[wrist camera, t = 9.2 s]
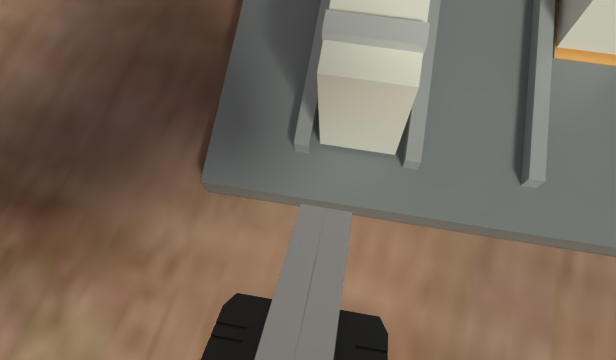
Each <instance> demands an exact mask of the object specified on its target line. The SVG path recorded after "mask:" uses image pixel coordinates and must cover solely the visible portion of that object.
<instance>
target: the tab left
mask: <svg viewBox="0 0 616 360" xmlns="http://www.w3.org/2000/svg"><path fill="white" fill-rule="evenodd" d="M429 5H430V0H331V1H330V6H329V10H328V9H326V12H325V17H324V22H323V28H322V40H323V44H322V49H321V54H320V60H319V65H318V70H317V85H318V108H319V130H320V144H325V145H332V146H339V147H345V148H352V149H359V150H365V151H372V152H379V153H385V154H392V155H395V153H396V150H397V148H398V145H399V142H400V139H401V136H402V134H403V131H404V128H405V125H406V122H407V119H408V117H409V114H410V111H411V108H412V105H413V103H414V100H415V97H416V94H417V91H418V88H419V83H420V75H421V67H422V59H423V53H425V50H426V47H427V43H428V35H429V27H430V23H428V22H427V20H428V12H429Z"/></svg>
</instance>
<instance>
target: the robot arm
mask: <svg viewBox="0 0 616 360" xmlns="http://www.w3.org/2000/svg"><path fill="white" fill-rule="evenodd" d="M351 218H352V212H348V211H341V210H335V209H329V208H323V207H317V206H311V205H305V204H300V208H299V211H298V214H297V218H296V221H295V224H294V228H293V231H292V235H291V238H290V241H289V245H288V248H287V251H286V255H285V258H284V262H283V265H282V268H281V272H280V275H279V279H278V282H277V285H276V289H275V292H274V295H273V299H268V298H262V297H257V296H251V295H245V294H240V293H236V294H235V295H234V296H233V297H232V298H231V299H230V300H229V301H228V302H226V303H225V304H224V305H223V307H222V309H221V312H220V314H219V317H218V319H217V321H216V325H215V326H214V329H213V331H212V334H211V338H209V341H208V343H207V346H206V348H205V351H204V353H203V356H202V358H201V360H388V355H387V352H388V333H387V331H386V329H385V327H384V325H383V323H382V321H381V319H380V317H378V316H372V315H366V314H361V313H355V312H349V311H344V310H340V304H341V296H342V289H343V281H344V273H345V265H346V257H347V250H348V242H349V234H350V226H351Z"/></svg>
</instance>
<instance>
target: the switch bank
mask: <svg viewBox="0 0 616 360" xmlns="http://www.w3.org/2000/svg"><path fill="white" fill-rule="evenodd" d="M330 1H331V0H243V3H242V8H241V12H240V16H239V20H238V24H237V29H236V33H235V37H234V41H233V46H232V50H231V54H230V58H229V62H228V67H227V71H226V75H225V79H224V84H223V88H222V92H221V96H220V100H219V105H218V109H217V113H216V117H215V122H214V126H213V130H212V134H211V138H210V143H209V147H208V151H207V155H206V159H205V164H204V168H203V172H202V176H201V181H200V182H201V183H202V185H203V186H204V187H205V188H206V190H207V191H208V192H214V193H220V194H226V195H232V196H239V197H245V198H251V199H257V200H264V201H270V202H276V203H282V204H289V205H295V206H300V204H305V205H311V206H317V207H323V208H329V209H335V210H341V211H348V212H352V215H357V216H363V217H370V218H376V219H382V220H388V221H395V222H401V223H407V224H413V225H420V226H426V227H432V228H438V229H444V230H451V231H457V232H463V233H469V234H476V235H482V236H488V237H494V238H501V239H507V240H513V241H519V242H526V243H532V244H538V245H544V246H550V247H557V248H563V249H569V250H575V251H582V252H588V253H594V254H600V255H607V256H613V257H616V55H613V54H605V53H598V52H590V51H582V50H575V49H567V48H559V47H557V33H558V14H559V0H430V5H429V12H428V20H427V22H428V23H430V27H429V35H428V43H427V47H426V50H425V53H423V59H422V67H421V75H420V83H419V88H418V91H417V94H416V97H415V100H414V103H413V105H412V108H411V111H410V114H409V117H408V119H407V122H406V125H405V128H404V131H403V134H402V136H401V139H400V142H399V145H398V148H397V150H396V153H395V155H392V154H385V153H379V152H372V151H365V150H359V149H352V148H345V147H339V146H332V145H325V144H320V130H319V108H318V85H317V70H318V65H319V60H320V54H321V49H322V44H323V40H322V28H323V22H324V17H325V12H326V9H328V10H329V6H330Z"/></svg>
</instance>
